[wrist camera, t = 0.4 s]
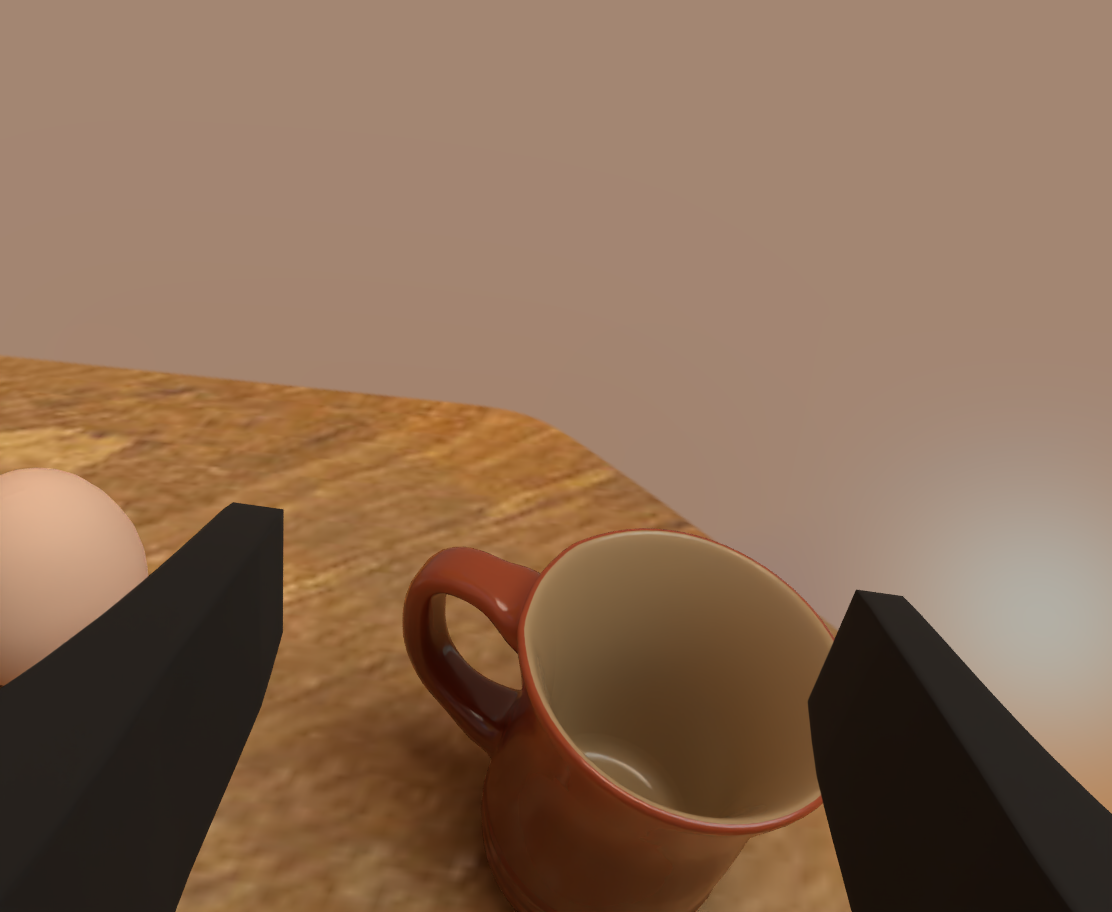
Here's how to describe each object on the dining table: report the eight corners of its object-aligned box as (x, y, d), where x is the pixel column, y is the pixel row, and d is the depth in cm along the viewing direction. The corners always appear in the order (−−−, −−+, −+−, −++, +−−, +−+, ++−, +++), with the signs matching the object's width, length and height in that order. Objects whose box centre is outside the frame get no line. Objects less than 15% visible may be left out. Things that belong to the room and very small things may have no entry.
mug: (747, 801, 33) (886, 624, 26) (665, 1056, 27) (819, 907, 20) (446, 636, 35) (503, 430, 28) (302, 837, 29) (330, 633, 22)
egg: (72, 763, 29) (43, 607, 24) (-95, 684, 29) (-159, 515, 24) (189, 624, 33) (185, 467, 28) (41, 557, 33) (12, 391, 28)
